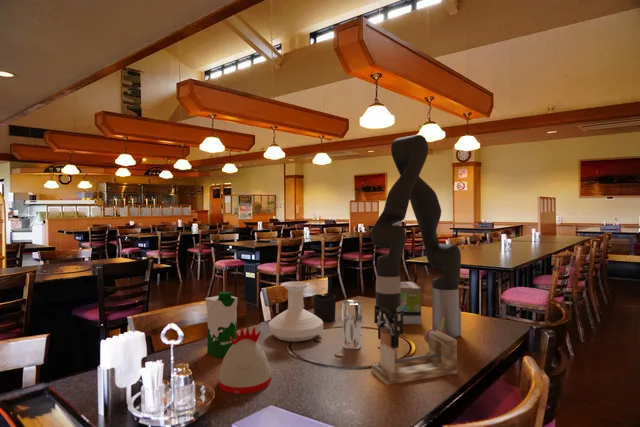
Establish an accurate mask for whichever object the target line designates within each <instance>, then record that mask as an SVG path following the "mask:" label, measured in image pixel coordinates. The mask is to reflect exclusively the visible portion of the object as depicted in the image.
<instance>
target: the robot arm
mask: <svg viewBox="0 0 640 427" xmlns="http://www.w3.org/2000/svg"><path fill="white" fill-rule="evenodd" d="M390 152H391V157H392V159H393V162H394V163H393V164H395V167H396V169H397V171H398V174H399V177H398V179H397V180H396V181H395V182H394V183H393V185H392V187H390V190H389V191H388V193H387V197H386V200H385V203H384V207H383V210H382V212H381V213H380V216H379V217H378V218H377V220H376V222H375V224H374V226H373V228H372V230H371V233H370V238H371V239H370V240H371V243H372V245H373V246H375V247H376V248H381V249H382V248H383V249H389V251H388V254H386V255H380V256H378V257H377V260H376V278H375V279H376V280H375V305H374V319H373V322H374V324H376V327H377V339H378V340H380V341H381V338H380V327H382V326H387V327H388V328H389V329H390V332H391V347H392V348H399V346H400V345H399V344H400V343H399V342H400V341H399V340H400V338H399V337H400V335H403V334H404V324H403V315H402V314H397V310H396V309H397V307H399V306H400V305H401V282H402V281H401V259H402V255H403V252H404V248H405V245H406V241H407V235H406V231H405V229H404V228H403V226H400V225H394V224H395V223H400V222H402V221H404V220H405V218H406V216H407V212H408V208H409V204H410V205H411V207H412V208H411V209H412V211H413V215H414V217H415V220H416V222H417V224H418V225H417V226H418V228H419V231H420V235H421V238H422V242H423V247H424V251H425V255H426V259H427V262H428V264H429V265H430V267H432V268H434V269H439V270H441V269H442V270H443V274H442V276H440V277H436V278H433V279H432V281H431V282H432V283H431V289H432V290H431V295H432V296H431V297H432V298H431V299H432V301H431V303H432V304H431V306H432V307H431V308H432V310H431V311H432V312H431V313H432V315H431V316H432V320H431V321H432V325H431V326H432V327H431V328H432V329H431V330H434V329H440V328H441V322H442V318H443V316H444V323H443V329H442V330H444V331H446V332H447V333H448V334H450V336H451V337H452V338H454V339H456V338H458V337H459V336H462V309H461V308H459V307H460V306H459V298H460V297H459V294H460V293H459V290H460V288H459V286H460V280H461V265H462V264H461V262H462V254H461V250H460V247H459V246H458V245H456V244H451V243H441V242H440V241H439V238H438V235H437V229H438V226H439V223H440V219H441V216H442V208H441V204H440V201H439V198H438V195H437V193H436V192H435V190H434V189H433V188H432V187H431V186H430V185H429V184H428V183H427V182H425V180H424V179H422V177H420V174H421V172H422V170H423V168H424V165H425V163H426V160H427V157H428V154H429V144H428V141H427V139H426V137H425V136H424V135H423V134H413V135H409V136H408V135H407V136H404V137H403V136H402V137H399V138H398V137H397V138H395V139H394V140H393V141H392V142H391V146H390ZM393 328H394V331H393Z"/></svg>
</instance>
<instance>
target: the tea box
mask: <svg viewBox="0 0 640 427" xmlns="http://www.w3.org/2000/svg"><path fill="white" fill-rule="evenodd" d="M400 282H401V305H400V306H399V307H397V309H396V310H397V314H402V315H403V325H421V324H422V288H421V286H419V284H417V283H415V282H414V281H400Z"/></svg>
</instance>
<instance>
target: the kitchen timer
mask: <svg viewBox="0 0 640 427" xmlns="http://www.w3.org/2000/svg"><path fill="white" fill-rule="evenodd" d="M235 334H236V337H237V339H236V340H233V339H232V338H231V336H230V339H231V341H232V343H233V345H232V346H231V347H230V348H229V350H228V351H227V353H226V355H225V356H224V357H223V360H222V362H221V366H220V369H219V373H218V374H219V375H218V387H219V389H220V390H222V391H224V392H226V393H229V394H238V395H245V394H251V393H256V392H259V391H262V390H264V389H265V387H266V388H267V387H269V385H270V384H271V382H272V371H271V366H270V363H269V360H268V357H267V355H268V353H267V351H265V350H264V349H263V348H262V346H261V345H260V344H259V343H258V342H257V341H258V340H259V337H260V335H261V330H259V331H258V332H257V333H256V327H255V326H253V328H252V331H251V333H250V330H249V327H248V326H246V332H244V329H243V326H241V327H240V334H239V333H238V331H237V332H235ZM258 390H259V391H258ZM255 391H256V392H255Z"/></svg>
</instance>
